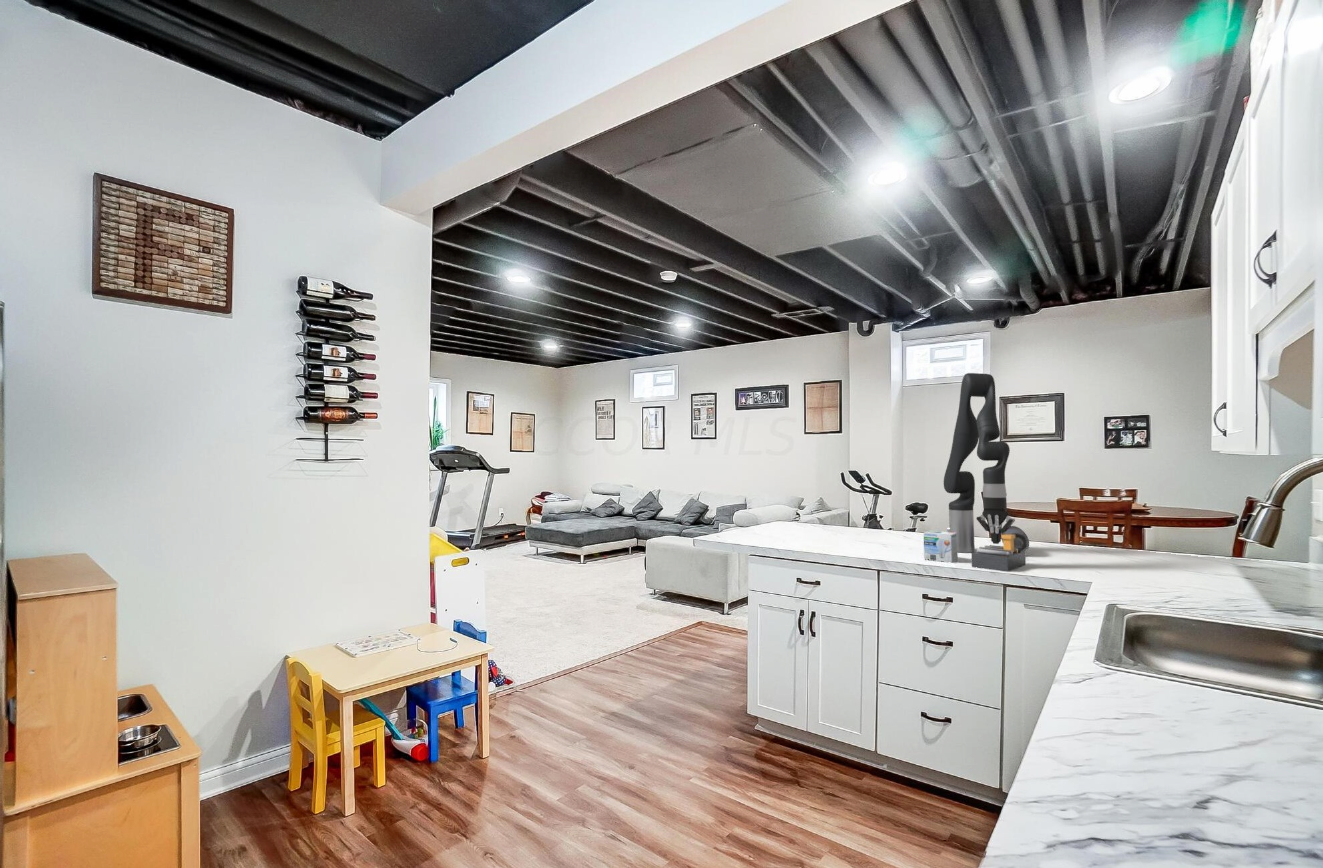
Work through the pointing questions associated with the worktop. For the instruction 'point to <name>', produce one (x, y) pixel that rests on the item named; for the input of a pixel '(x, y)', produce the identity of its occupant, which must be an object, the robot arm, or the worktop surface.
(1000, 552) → the dressed cables
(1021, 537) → the bluetooth speaker
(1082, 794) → the worktop surface
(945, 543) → the light bulb box
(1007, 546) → the breaker handle
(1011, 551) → the breaker box
